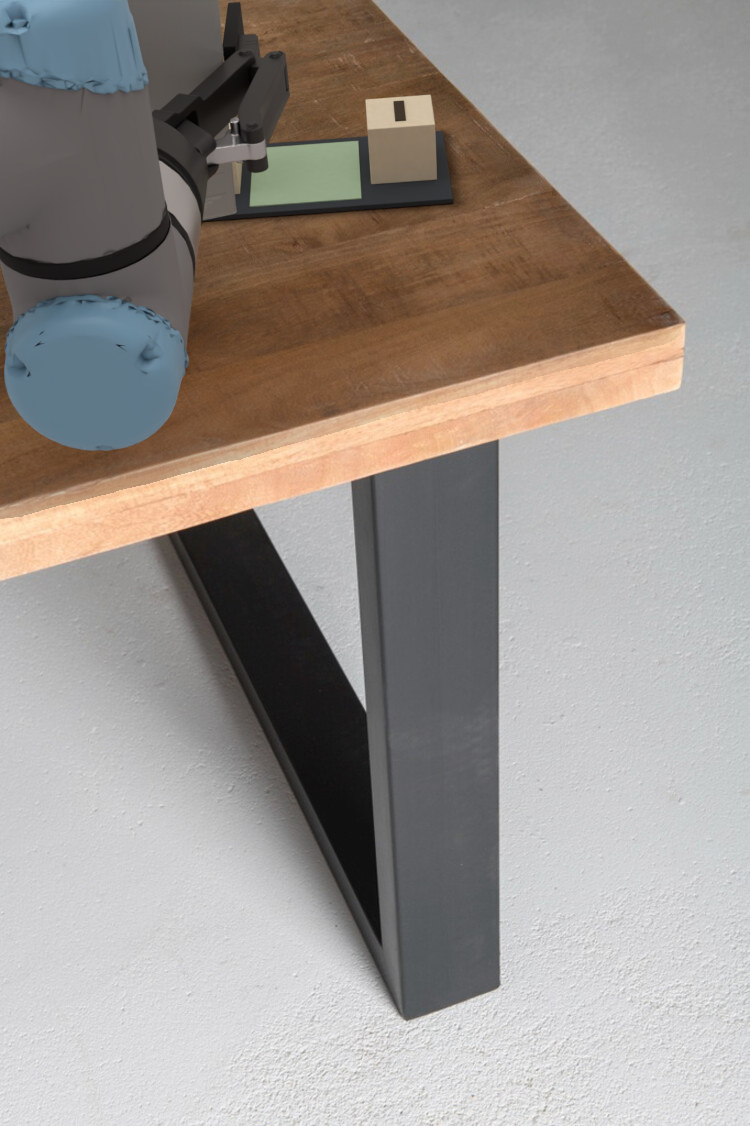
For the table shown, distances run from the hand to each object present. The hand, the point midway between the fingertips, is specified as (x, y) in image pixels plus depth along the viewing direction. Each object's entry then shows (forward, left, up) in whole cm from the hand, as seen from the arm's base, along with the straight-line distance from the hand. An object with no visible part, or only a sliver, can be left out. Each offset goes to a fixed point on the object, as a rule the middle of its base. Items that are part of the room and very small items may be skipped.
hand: (165, 29), depth 87 cm
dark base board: (+7, +14, -18) cm, 24 cm away
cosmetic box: (0, -5, -9) cm, 10 cm away
